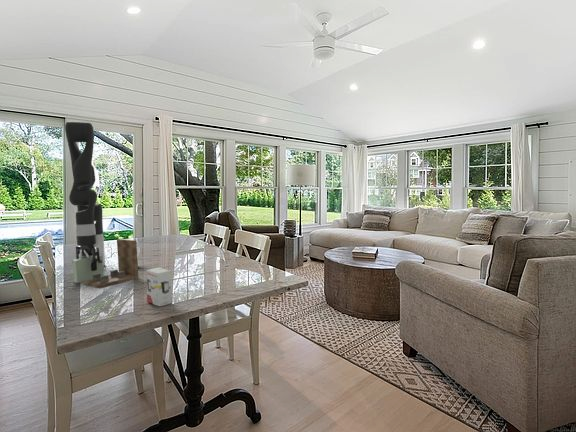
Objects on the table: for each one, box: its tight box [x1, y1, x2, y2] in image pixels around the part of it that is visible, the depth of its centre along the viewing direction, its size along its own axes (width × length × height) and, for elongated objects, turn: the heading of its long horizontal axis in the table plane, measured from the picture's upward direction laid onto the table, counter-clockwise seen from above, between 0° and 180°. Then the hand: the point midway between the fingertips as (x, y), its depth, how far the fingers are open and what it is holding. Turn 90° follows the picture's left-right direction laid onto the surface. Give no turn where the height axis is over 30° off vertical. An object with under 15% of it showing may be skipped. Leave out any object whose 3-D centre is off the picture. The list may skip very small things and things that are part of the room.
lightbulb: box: [137, 245, 141, 259], centre depth 178 cm, size 6×6×11 cm
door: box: [72, 255, 105, 284], centre depth 153 cm, size 3×12×10 cm, turn 151°
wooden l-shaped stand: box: [83, 238, 139, 289], centre depth 150 cm, size 12×18×17 cm, turn 150°
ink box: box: [146, 267, 172, 307], centre depth 120 cm, size 9×5×12 cm, turn 50°
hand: (88, 269), depth 153 cm, fingers open, 8 cm apart
